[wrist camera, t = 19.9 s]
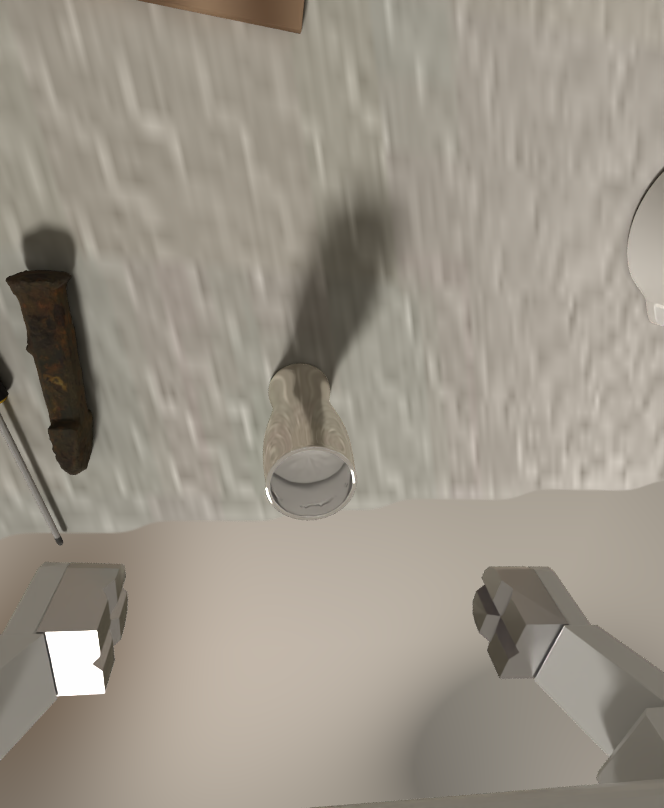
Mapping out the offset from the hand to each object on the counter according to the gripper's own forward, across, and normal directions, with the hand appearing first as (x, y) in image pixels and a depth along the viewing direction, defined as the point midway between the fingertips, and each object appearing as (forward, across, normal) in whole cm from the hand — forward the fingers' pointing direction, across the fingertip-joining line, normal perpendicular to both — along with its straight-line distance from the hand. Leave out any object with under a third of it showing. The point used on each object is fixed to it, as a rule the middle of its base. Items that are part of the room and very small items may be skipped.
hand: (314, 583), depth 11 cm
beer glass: (+34, -3, +12) cm, 36 cm away
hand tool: (+35, +17, +12) cm, 41 cm away
